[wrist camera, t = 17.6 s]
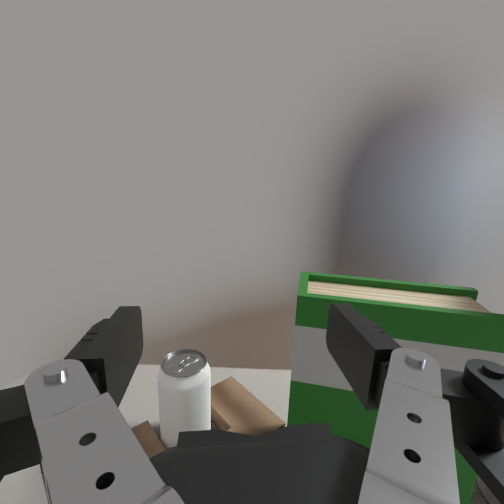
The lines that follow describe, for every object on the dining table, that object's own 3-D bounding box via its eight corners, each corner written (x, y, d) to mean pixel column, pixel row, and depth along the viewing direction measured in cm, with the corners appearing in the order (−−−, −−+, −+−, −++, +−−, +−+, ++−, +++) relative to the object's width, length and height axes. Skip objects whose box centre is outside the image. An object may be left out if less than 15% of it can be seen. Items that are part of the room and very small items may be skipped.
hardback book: (430, 469, 35) (473, 287, 29) (458, 540, 28) (523, 321, 22) (287, 438, 39) (301, 271, 33) (281, 495, 32) (297, 295, 26)
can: (151, 442, 37) (145, 363, 34) (188, 412, 42) (187, 341, 39) (183, 473, 34) (180, 387, 31) (220, 436, 39) (221, 359, 36)
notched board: (231, 389, 47) (231, 376, 47) (284, 437, 39) (285, 423, 38) (99, 462, 34) (97, 446, 34) (135, 561, 26) (133, 541, 25)
